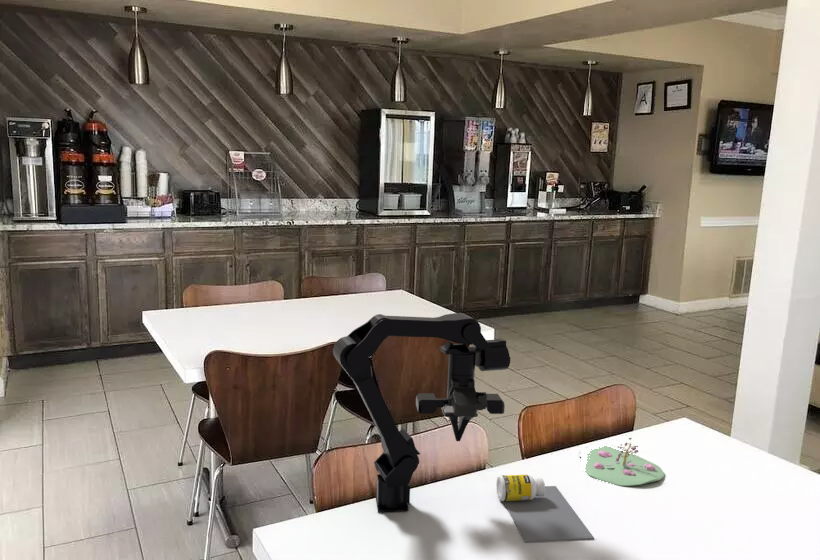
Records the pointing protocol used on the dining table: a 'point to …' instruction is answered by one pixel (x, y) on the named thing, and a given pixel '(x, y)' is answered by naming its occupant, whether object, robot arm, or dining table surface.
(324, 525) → the dining table surface
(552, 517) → the mat
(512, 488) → the supplement bottle
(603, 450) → the plant
